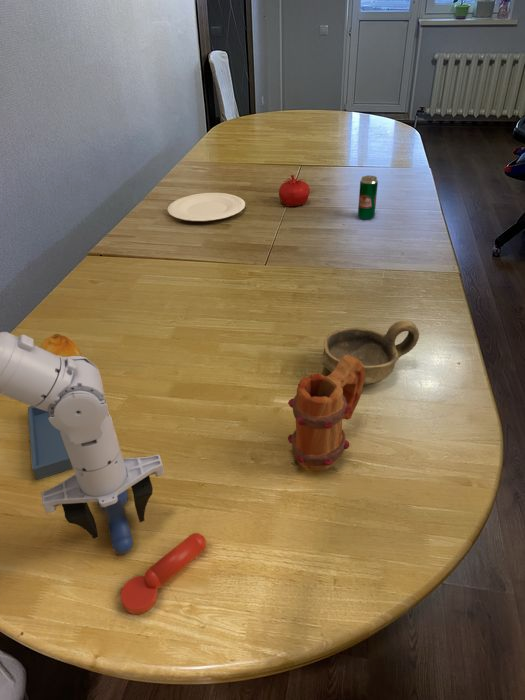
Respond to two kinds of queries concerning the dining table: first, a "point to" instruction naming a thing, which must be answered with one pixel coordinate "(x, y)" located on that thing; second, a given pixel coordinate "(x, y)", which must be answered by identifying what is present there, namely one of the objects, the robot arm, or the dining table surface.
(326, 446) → the mug
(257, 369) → the dining table surface
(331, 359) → the bowl
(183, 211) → the plate
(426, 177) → the dining table surface
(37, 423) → the tray
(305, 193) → the pomegranate
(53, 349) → the fruit
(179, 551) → the red spoon
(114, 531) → the blue spoon
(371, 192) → the soda can
